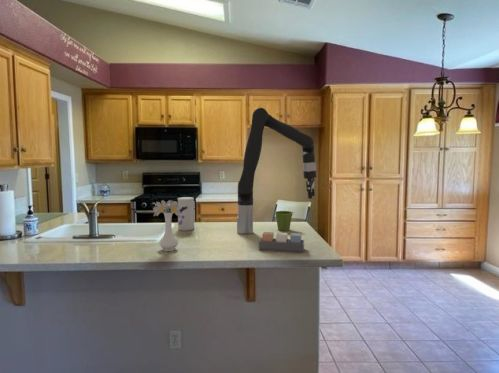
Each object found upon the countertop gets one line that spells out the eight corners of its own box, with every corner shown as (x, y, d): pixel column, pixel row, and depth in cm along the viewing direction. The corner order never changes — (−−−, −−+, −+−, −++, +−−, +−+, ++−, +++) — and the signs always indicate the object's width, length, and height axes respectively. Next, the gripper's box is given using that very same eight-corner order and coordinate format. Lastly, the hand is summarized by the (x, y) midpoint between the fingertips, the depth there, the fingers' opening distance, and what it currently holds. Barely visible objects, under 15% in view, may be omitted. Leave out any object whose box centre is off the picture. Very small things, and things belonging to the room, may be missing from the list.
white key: (276, 243, 179) (276, 234, 179) (277, 241, 184) (277, 232, 184) (286, 244, 178) (286, 235, 178) (287, 241, 183) (287, 233, 183)
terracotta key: (262, 242, 180) (262, 234, 180) (263, 240, 185) (263, 231, 185) (272, 243, 179) (272, 234, 179) (273, 241, 184) (273, 232, 184)
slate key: (290, 244, 178) (290, 235, 177) (291, 241, 183) (291, 233, 182) (300, 244, 177) (300, 235, 176) (301, 242, 182) (301, 233, 181)
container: (175, 230, 226) (174, 198, 224) (182, 227, 236) (182, 196, 234) (189, 231, 223) (189, 199, 221) (196, 228, 233) (196, 197, 231)
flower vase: (184, 244, 191) (183, 197, 189) (177, 254, 173) (176, 202, 170) (160, 244, 191) (159, 197, 189) (150, 254, 173) (149, 202, 170)
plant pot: (270, 229, 230) (271, 211, 229) (286, 227, 235) (287, 210, 234) (280, 232, 219) (280, 214, 218) (296, 231, 224) (297, 213, 223)
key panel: (259, 250, 180) (259, 241, 179) (261, 246, 187) (261, 237, 187) (303, 252, 175) (303, 243, 175) (304, 248, 183) (304, 239, 183)
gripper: (305, 169, 220) (307, 195, 222) (300, 171, 207) (303, 199, 209) (317, 168, 218) (319, 194, 220) (313, 170, 205) (316, 199, 207)
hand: (311, 197), depth 214 cm, fingers open, 8 cm apart
